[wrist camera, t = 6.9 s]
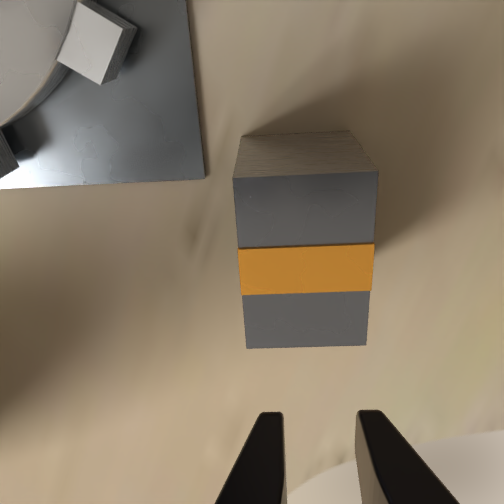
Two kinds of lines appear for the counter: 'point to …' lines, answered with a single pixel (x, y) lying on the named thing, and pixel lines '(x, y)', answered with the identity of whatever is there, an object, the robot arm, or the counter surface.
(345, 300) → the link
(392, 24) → the counter surface
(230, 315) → the counter surface
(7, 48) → the sprocket
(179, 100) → the cover plate
